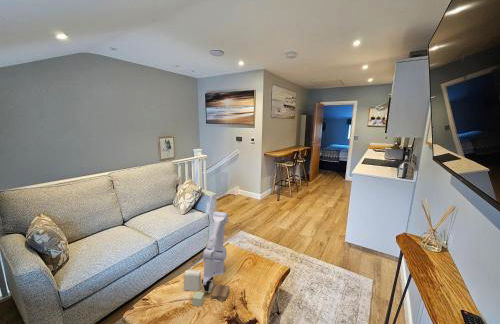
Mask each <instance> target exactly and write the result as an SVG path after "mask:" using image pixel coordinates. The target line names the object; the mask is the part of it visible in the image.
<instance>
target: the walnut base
mask: <svg viewBox="0 0 500 324" xmlns="http://www.w3.org/2000/svg"><path fill="white" fill-rule="evenodd" d="M230 290H231V287H230V285H221V284H215V285H214V286H213V289H212V291H211V293H210V300H211V299H217V300H222V301H221V302H223V301H226V299H228V297H227V296H229V293H230Z"/></svg>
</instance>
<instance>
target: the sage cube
mask: <svg viewBox="0 0 500 324" xmlns="http://www.w3.org/2000/svg"><path fill="white" fill-rule="evenodd" d="M191 300H192V302H191V304H192V306H193V307H199V306H201V307H202V305H203V303H202V302H204V301H205V292H203V291H195V292H194V294H193V296H192V299H191ZM203 300H204V301H203Z"/></svg>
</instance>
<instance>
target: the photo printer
mask: <svg viewBox="0 0 500 324" xmlns="http://www.w3.org/2000/svg"><path fill="white" fill-rule="evenodd" d="M201 273H202V271H200V270H198V269H186V270H185V271H184V277H183V289H184V291H192V292H193V291H195V292H196V291H197V292H200V290H201V287H202V286H201V285H202V279H201V277H202V274H201Z"/></svg>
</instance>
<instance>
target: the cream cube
mask: <svg viewBox="0 0 500 324" xmlns="http://www.w3.org/2000/svg"><path fill="white" fill-rule="evenodd" d="M209 281H211V283H210V286H209V290H208V294H212V292H213V289H214V279H213V280H209ZM202 292H203V293H207V291H205V290H204V286H203V285H202Z"/></svg>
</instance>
